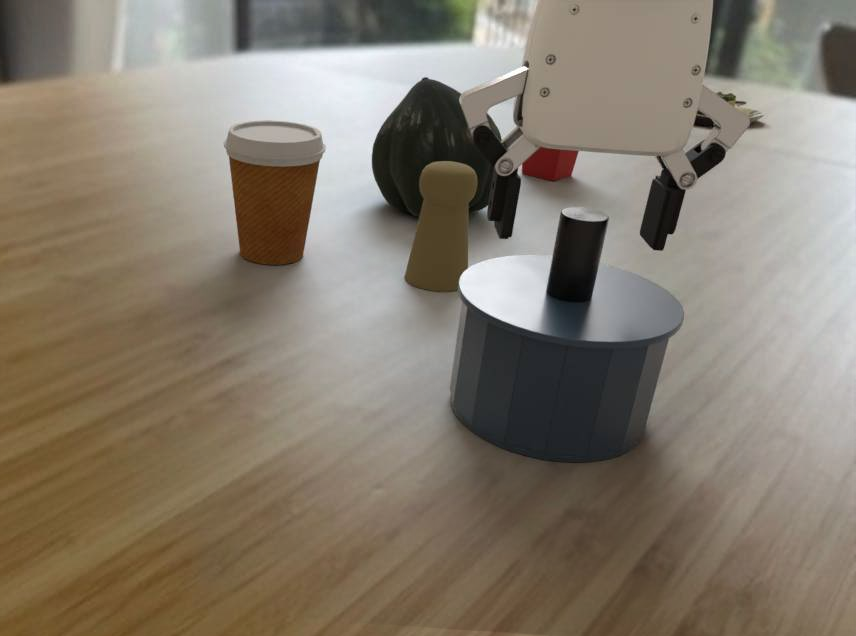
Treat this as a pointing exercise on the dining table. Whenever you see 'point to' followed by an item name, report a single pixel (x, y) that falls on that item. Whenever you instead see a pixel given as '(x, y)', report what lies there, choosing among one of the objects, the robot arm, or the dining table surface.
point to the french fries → (550, 163)
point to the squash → (427, 146)
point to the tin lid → (572, 293)
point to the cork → (442, 227)
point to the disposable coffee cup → (273, 187)
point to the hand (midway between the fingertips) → (576, 237)
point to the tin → (551, 393)
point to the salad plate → (730, 98)
